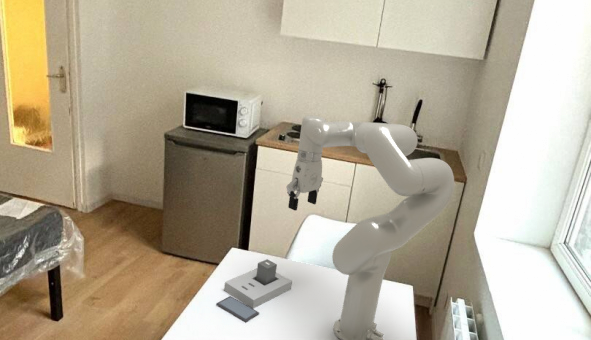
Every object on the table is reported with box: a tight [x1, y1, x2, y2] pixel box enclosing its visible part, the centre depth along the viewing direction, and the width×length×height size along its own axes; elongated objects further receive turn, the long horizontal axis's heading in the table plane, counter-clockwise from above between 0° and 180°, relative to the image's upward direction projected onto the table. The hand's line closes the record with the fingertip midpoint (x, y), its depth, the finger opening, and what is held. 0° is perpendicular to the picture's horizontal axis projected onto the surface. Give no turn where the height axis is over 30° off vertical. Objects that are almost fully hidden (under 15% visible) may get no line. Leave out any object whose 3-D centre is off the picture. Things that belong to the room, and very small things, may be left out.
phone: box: [216, 295, 260, 323], centre depth 145 cm, size 12×6×1 cm, turn 54°
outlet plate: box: [223, 268, 293, 309], centre depth 157 cm, size 13×18×3 cm
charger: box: [256, 258, 278, 286], centre depth 158 cm, size 4×4×8 cm
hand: (302, 205), depth 156 cm, fingers open, 9 cm apart
